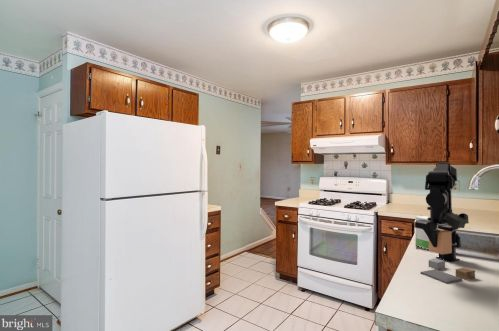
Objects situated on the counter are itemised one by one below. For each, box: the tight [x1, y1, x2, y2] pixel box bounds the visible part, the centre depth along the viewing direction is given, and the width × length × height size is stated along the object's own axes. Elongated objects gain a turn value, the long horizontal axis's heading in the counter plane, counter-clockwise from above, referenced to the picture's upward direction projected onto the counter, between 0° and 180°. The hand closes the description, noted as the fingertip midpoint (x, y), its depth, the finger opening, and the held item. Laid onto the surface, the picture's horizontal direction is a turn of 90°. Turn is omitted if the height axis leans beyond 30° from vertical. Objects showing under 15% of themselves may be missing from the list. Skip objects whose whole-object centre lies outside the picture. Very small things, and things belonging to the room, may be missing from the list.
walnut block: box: [455, 267, 476, 281], centre depth 100 cm, size 5×4×3 cm
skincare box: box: [414, 215, 438, 250], centre depth 138 cm, size 8×7×16 cm
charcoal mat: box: [420, 269, 463, 284], centre depth 101 cm, size 8×10×1 cm
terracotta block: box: [428, 229, 452, 255], centre depth 101 cm, size 5×5×8 cm
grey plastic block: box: [428, 258, 446, 270], centre depth 110 cm, size 5×4×3 cm
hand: (440, 246), depth 101 cm, fingers closed on terracotta block, 5 cm apart
